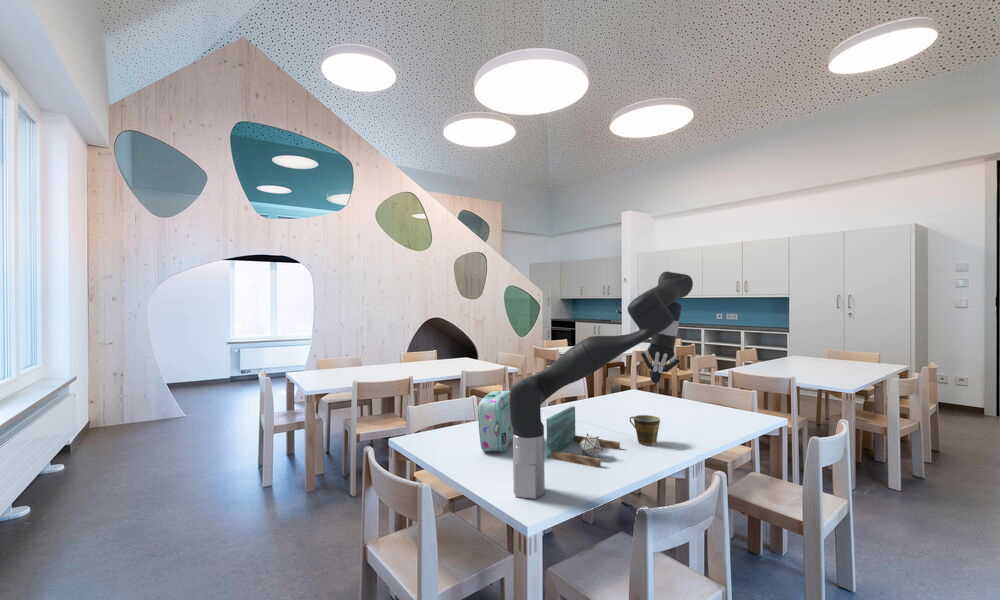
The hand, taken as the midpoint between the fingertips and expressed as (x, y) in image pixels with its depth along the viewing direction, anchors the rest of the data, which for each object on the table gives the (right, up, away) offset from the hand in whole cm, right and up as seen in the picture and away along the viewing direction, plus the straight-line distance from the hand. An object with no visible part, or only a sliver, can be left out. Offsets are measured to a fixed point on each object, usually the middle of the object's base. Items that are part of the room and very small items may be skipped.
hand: (654, 382), depth 152 cm
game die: (-19, -29, +11) cm, 37 cm away
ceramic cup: (+5, -29, +27) cm, 40 cm away
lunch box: (-53, -30, +26) cm, 66 cm away
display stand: (-20, -29, +15) cm, 39 cm away
